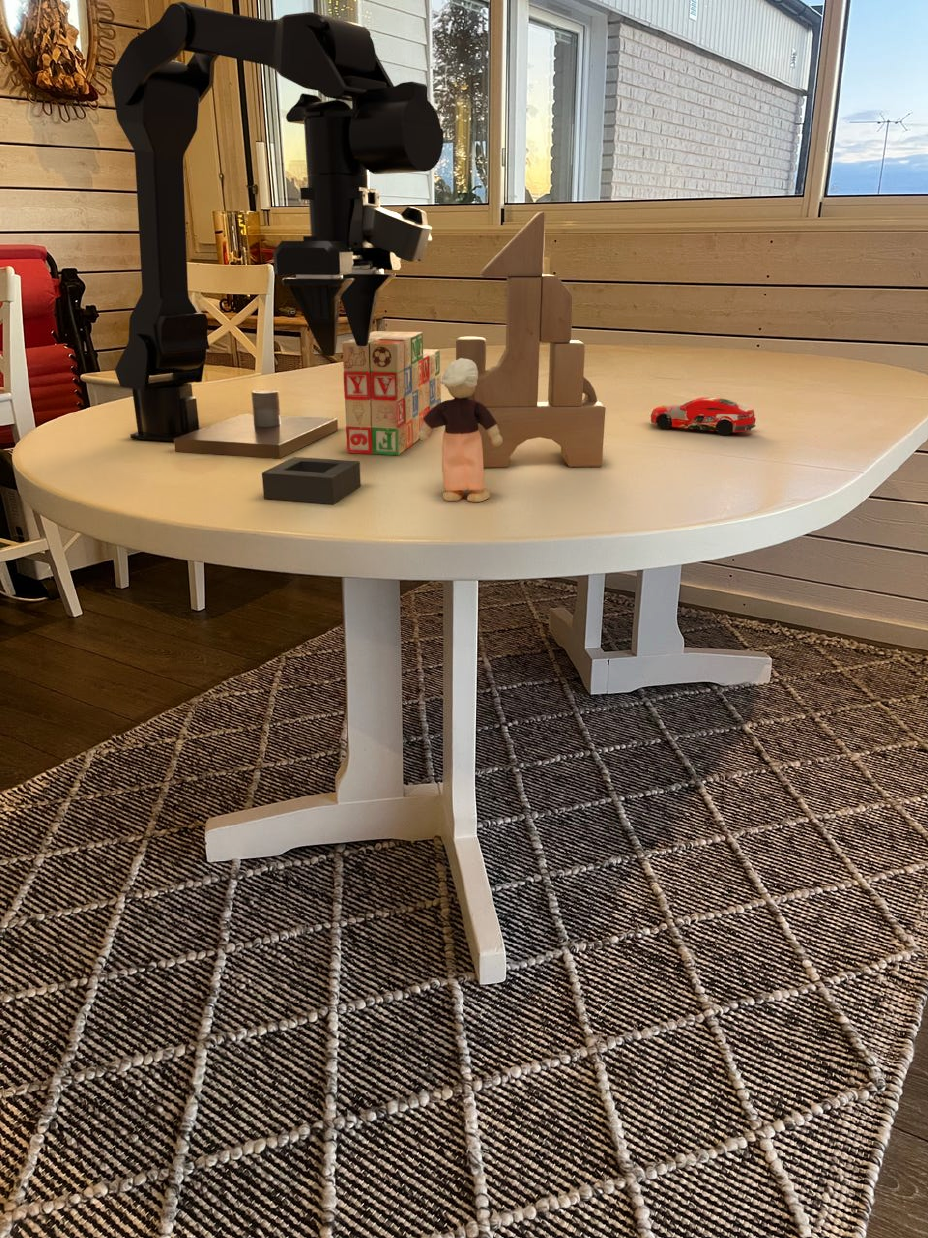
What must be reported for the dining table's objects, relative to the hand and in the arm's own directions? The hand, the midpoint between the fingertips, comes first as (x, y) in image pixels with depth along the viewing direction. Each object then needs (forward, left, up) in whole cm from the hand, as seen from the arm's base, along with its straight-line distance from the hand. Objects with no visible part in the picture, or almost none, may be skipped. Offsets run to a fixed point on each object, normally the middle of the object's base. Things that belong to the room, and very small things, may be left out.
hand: (346, 350), depth 91 cm
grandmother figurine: (+14, -7, -12) cm, 20 cm away
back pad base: (-16, +12, -12) cm, 24 cm away
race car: (+35, +34, -12) cm, 50 cm away
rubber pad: (0, -9, -12) cm, 15 cm away
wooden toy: (+17, +10, -12) cm, 23 cm away
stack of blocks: (-1, +19, -12) cm, 23 cm away
